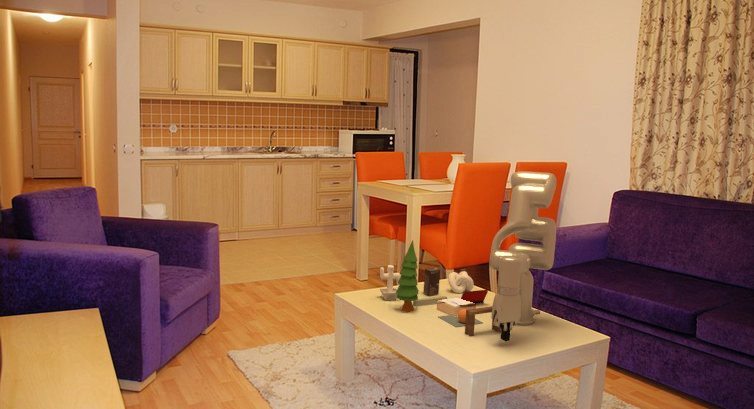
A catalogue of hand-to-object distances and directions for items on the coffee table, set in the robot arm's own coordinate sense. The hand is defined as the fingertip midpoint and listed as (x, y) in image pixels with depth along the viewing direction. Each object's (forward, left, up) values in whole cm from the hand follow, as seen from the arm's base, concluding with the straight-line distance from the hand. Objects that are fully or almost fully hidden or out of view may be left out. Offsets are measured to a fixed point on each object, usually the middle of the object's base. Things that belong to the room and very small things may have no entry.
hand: (505, 340), depth 217 cm
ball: (0, -25, +1) cm, 25 cm away
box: (-8, -63, -2) cm, 64 cm away
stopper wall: (0, -51, -2) cm, 51 cm away
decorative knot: (-23, -63, -2) cm, 67 cm away
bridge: (0, -13, -2) cm, 13 cm away
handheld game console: (-17, -46, -2) cm, 49 cm away
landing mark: (0, -28, -2) cm, 28 cm away
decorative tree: (+14, -47, -2) cm, 49 cm away
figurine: (+13, -64, -2) cm, 65 cm away
